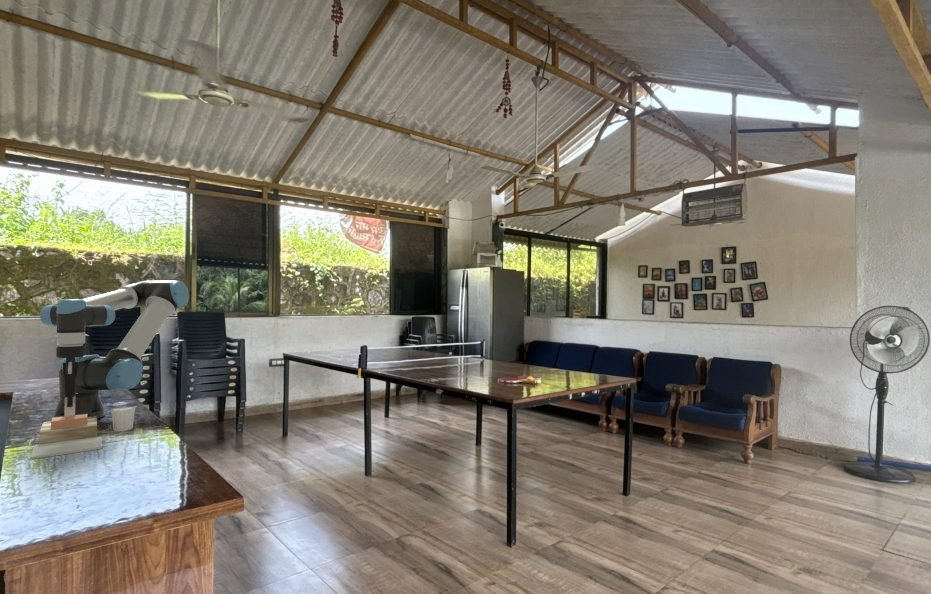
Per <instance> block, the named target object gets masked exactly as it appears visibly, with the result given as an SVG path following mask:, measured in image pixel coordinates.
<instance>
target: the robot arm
mask: <svg viewBox="0 0 931 594" xmlns="http://www.w3.org/2000/svg"><path fill="white" fill-rule="evenodd" d="M189 299H190V293H189V289H188V287H187V285H186V284H185V282H183V281H181V280H174V279H171V280H165V279H164V280H160V279H159V280H157V279H156V280H155V279H154V280H151V279H150V280H148V279H147V280H143V281H138V282H134V283H131V284H126V285H123V286H120V287H118V288H117V289H116V290H113V291H110V292H109V291H108V292H106V293H102V294H98V295H93V296H90V297H86V298H82V299H78V298H77V299H76V298H73V299H72V298H71V299H69V298H68V299H67V298H66V299H65V298H62V299H59V300H58V301H57V304H48V305H45V306H44V307H43V308H42V309H41V310H40V311H39V319H40V321H41V323H43V325H45V326H48V327H49V326H52V327H56V335H54V336H53V338H54V340H56V345H58V346H57V347H56V349H55V357H56V358H58V359H61V360H60V362H59V369H58V373H59V375H58V377H59V379H58V380H59V382H58V384H59V399H58V402H57V404H56V408H55V410H54V412H53V413H52V414H53V415H52V418H55V417H64V416H73V415H82V414H88V417H93V416H97V419H99V418H102V417H104V416H105V414H106V413H105V407H104V405H103V402H102V399H101V397H100V391H114V392H120V391H128V390H131V389H133V388H135V387H136V386H137V385H138V384H139V383H140V381H141V380H142V377H143V375H144V374H143V371H144V365H143V359H142V356H143V355H144V353H146V350H147V348H149V346H150V344H151V342H152V341H153V339H154V338H155V336H156V335H157V333H158V332H159V330H160V328H161V327H162V326H163V324H164V322H165V320H166V319H167V317H171V316H173V315H174V314H175V313H176V312H177V310H178V309H179V308H181V309H182V308H185V307H186V306H187V305H188V303H189ZM133 308H144V309H143V310H142V312H141V313H140V315H139V316H138V318H137V319H136V321H135V322H134V324H133V325H132V326H131V328H130V329H129V331H128V332H127V334H126V335H125V337H123V339H122V341H121V342H120V344H119V345H118V346H117V348H113V349H110V350H109V351H108V353H107V354H106V356H105V357H104V358H100V355H99V354H90V355H89V354H88V355H86V346H85V344H86V327H87V328H88V327H105V326H110V325H112V323H113V322H114V321H115V318H116V312H115V311H118V310H121V309H126V310H127V309H128V310H129V309H133Z"/></svg>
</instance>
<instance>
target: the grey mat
mask: <svg viewBox="0 0 931 594" xmlns="http://www.w3.org/2000/svg"><path fill="white" fill-rule="evenodd" d="M102 447H103V445H102V436H97V437H93V438H85V439H78V440H70V441H63V442H55V443H48V444H40V445H39V444H35V445H34V446H33V448H32V451H31V454H30V456H29V460H34V459H42V458H49V457H55V456H61V455H69V454H74V453H82V452H84V453H85V452H90V451H97V450H102Z"/></svg>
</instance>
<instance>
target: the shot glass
mask: <svg viewBox="0 0 931 594" xmlns="http://www.w3.org/2000/svg"><path fill="white" fill-rule="evenodd" d="M110 411H111V421H112V431H114V432H123V430H124V431H128V429H129V430H132V429H133V428H134V422H135V421H134V420H135V413H136V407H135V406H121V407H114V408H112V409H110Z"/></svg>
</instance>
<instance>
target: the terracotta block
mask: <svg viewBox="0 0 931 594" xmlns="http://www.w3.org/2000/svg"><path fill="white" fill-rule="evenodd" d="M87 418H88V414H82V415H73V416H64V417H55V418H53V417H52V418H51V420H50V421H51V428H60V427H68V426H77V425H85V424H87Z"/></svg>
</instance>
